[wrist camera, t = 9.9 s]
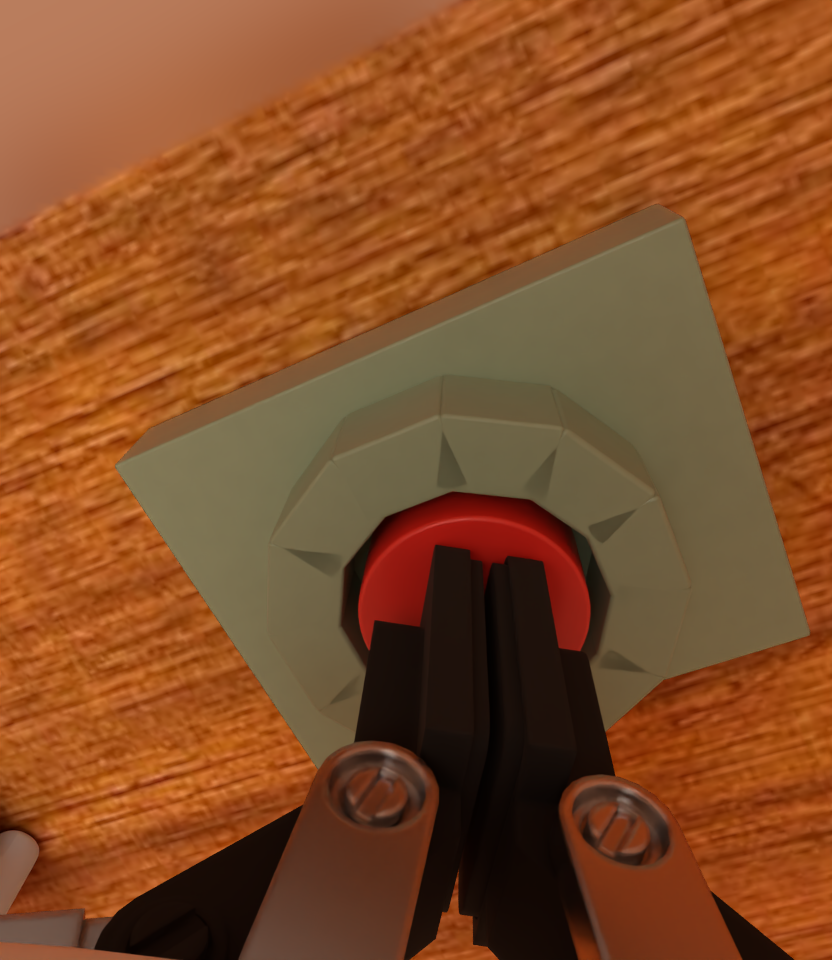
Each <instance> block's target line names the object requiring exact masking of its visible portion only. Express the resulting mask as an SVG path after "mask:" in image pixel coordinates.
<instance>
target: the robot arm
mask: <svg viewBox="0 0 832 960" xmlns="http://www.w3.org/2000/svg"><path fill="white" fill-rule="evenodd" d="M458 869H459V896H458V903H459V913H460V915H467V916H473V945H479V946H486V947H488V948H489V949H490V950H491V951H492V952H493V953H494V954H495V955H496V957H497V958H498V959H499V960H794V959H793V958H792V957H790V956H789V955H788V954H787V953H785V952H784V951H783V950H782V949H781V948H779V947H778V946H777V945H776V944H775V943H773V942H772V941H771V940H770V939H768V938H767V937H766V936H765V935H764V934H762V933H761V932H760V931H759V930H758V929H756V928H755V927H754V926H753V925H751V924H750V923H749V922H748V921H747V920H745V919H744V918H743V917H742V916H741V915H739V914H738V913H737V912H736V911H734V910H733V909H732V908H731V907H730V906H728V905H727V904H726V903H725V902H723V901H722V900H721V899H720V898H719V897H717V896H716V895H715V894H714V893H713V892H711V891H710V890H709V887H708V885H707V883H706V881H705V879H704V877H703V875H702V873H701V870H700V868H699V866H698V864H697V862H696V860H695V858H694V855H693V853H692V851H691V849H690V847H689V845H688V843H687V841H686V838H685V836H684V834H683V832H682V830H681V828H680V826H679V824H678V822H677V821H676V819H675V817H674V816H673V814H672V813H671V811H670V810H669V808H668V807H667V806H666V805H665V804H664V803H662V802H661V801H660V800H659V799H658V798H657V797H656V796H655V795H654V794H652V793H651V792H649V791H648V790H646V789H645V788H643V787H641V786H640V785H638V784H636V783H633V782H631V781H628V780H626V779H623V778H620V777H615V772H614V768H613V764H612V759H611V755H610V751H609V746H608V742H607V737H606V733H605V729H604V724H603V720H602V716H601V711H600V707H599V703H598V698H597V694H596V689H595V685H594V681H593V676H592V672H591V668H590V663H589V660H588V657H587V654H586V653H584V652H582V651H576V650H569V649H562V648H559V646H558V640H557V635H556V629H555V624H554V618H553V613H552V607H551V601H550V596H549V590H548V585H547V579H546V574H545V568H544V564H543V561H539V560H533V559H526V558H520V557H513V556H507V557H506V559H505V561H504V564H498V563H492V565H491V568H490V572H489V576H488V581H487V585H486V590H485V594H484V583H483V563H482V561H479V560H472V559H470V550H468V549H461V548H455V547H448V546H442V545H435V547H434V551H433V556H432V562H431V567H430V573H429V578H428V584H427V589H426V595H425V600H424V606H423V611H422V616H421V622H420V627H418V626H411V625H404V624H398V623H391V622H385V621H378V620H374V626H373V632H372V638H371V644H370V650H369V656H368V662H367V668H366V674H365V680H364V686H363V692H362V698H361V704H360V710H359V716H358V722H357V728H356V734H355V740H354V743H352V744H349V745H346V746H343V747H341V748H339V749H337V750H336V751H335V752H333V753H332V754H331V755H329V756H328V757H327V758H326V759H325V761H324V762H323V764H322V765H321V767H320V768H319V770H318V771H317V774H316V776H315V778H314V781H313V783H312V786H311V788H310V790H309V793H308V795H307V797H306V800H305V802H304V804H303V805H302V806H300V807H298V808H296V809H295V810H293V811H291V812H289V813H287V814H286V815H284V816H282V817H280V818H278V819H277V820H275V821H273V822H271V823H269V824H268V825H266V826H264V827H262V828H260V829H259V830H257V831H255V832H253V833H252V834H250V835H248V836H246V837H244V838H243V839H241V840H239V841H237V842H235V843H234V844H232V845H230V846H228V847H226V848H225V849H223V850H221V851H219V852H217V853H216V854H214V855H212V856H210V857H209V858H207V859H205V860H203V861H201V862H200V863H198V864H196V865H194V866H192V867H191V868H189V869H187V870H185V871H183V872H182V873H180V874H178V875H176V876H174V877H173V878H171V879H169V880H167V881H166V882H164V883H162V884H160V885H158V886H157V887H155V888H153V889H151V890H149V891H148V892H146V893H144V894H142V895H140V896H139V897H137V898H135V899H134V900H133V901H131V902H130V903H129V904H127V905H126V906H125V907H123V908H122V909H120V910H119V911H118V912H117V913H116V914H115V915H114V916H113V917H104V918H91V919H85V908H84V909H71V910H58V911H45V912H32V913H19V914H6V915H0V960H410V959H411V958H412V957H413V956H415V955H416V954H417V953H418V952H420V951H421V950H422V949H423V948H425V947H426V946H427V945H428V944H430V943H431V942H432V941H433V940H435V939H436V935H437V931H438V927H439V923H440V919H441V915H442V912H447V911H448V909H449V905H450V901H451V897H452V893H453V889H454V885H455V881H456V877H457V873H458Z"/></svg>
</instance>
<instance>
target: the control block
mask: <svg viewBox="0 0 832 960" xmlns="http://www.w3.org/2000/svg"><path fill="white" fill-rule="evenodd" d="M115 468H116V469H117V471H118V472H119V474H120V475H121V477H122V478H123V480H124V481H125V483H126V484H127V486H128V487H129V489H130V490H131V492H132V493H133V495H134V496H135V498H136V499H137V501H138V502H139V504H140V505H141V507H142V508H143V510H144V511H145V513H146V514H147V516H148V517H149V519H150V520H151V522H152V523H153V525H154V526H155V528H156V529H157V531H158V532H159V533H160V535H161V536H162V538H163V539H164V541H165V542H166V544H167V545H168V547H169V548H170V550H171V551H172V553H173V554H174V556H175V557H176V559H177V560H178V562H179V563H180V565H181V566H182V568H183V569H184V571H185V572H186V574H187V575H188V577H189V578H190V580H191V581H192V583H193V584H194V586H195V587H196V589H197V590H198V592H199V593H200V595H201V596H202V598H203V599H204V601H205V602H206V604H207V605H208V607H209V608H210V609H211V611H212V612H213V614H214V615H215V617H216V618H217V620H218V621H219V623H220V624H221V626H222V627H223V629H224V630H225V632H226V633H227V635H228V636H229V638H230V639H231V641H232V642H233V644H234V645H235V647H236V648H237V650H238V651H239V653H240V654H241V656H242V657H243V659H244V660H245V662H246V663H247V665H248V666H249V668H250V669H251V671H252V672H253V674H254V675H255V677H256V678H257V680H258V681H259V683H260V684H261V685H262V687H263V688H264V690H265V691H266V693H267V694H268V696H269V697H270V699H271V700H272V702H273V703H274V705H275V706H276V708H277V709H278V711H279V712H280V714H281V715H282V717H283V718H284V720H285V721H286V723H287V724H288V726H289V727H290V729H291V730H292V732H293V733H294V735H295V736H296V738H297V739H298V741H299V742H300V744H301V745H302V747H303V748H304V750H305V751H306V753H307V754H308V756H309V757H310V759H311V760H312V762H313V763H314V764H315V766H316V767H317V769H318V770H319V768H320V767H321V765H322V764H323V762H324V761H325V759H326V758H327V757H328V756H329V755H331V754H332V753H333V752H335V751H336V750H337V749H339V748H341V747H343V746H346V745H349V744H352V743H354V740H355V734H356V728H357V722H358V716H359V710H360V704H361V698H362V692H363V686H364V680H365V674H366V668H367V662H368V656H369V650H368V648H367V646H366V644H365V642H364V639H363V636H362V633H361V630H360V625H359V619H358V601H359V595H360V589H361V584H362V579H363V575H364V570H365V565H366V560H367V555H368V550H369V545H370V541H371V537H372V534H373V532H374V531H375V529H376V528H377V527H378V526H379V524H380V523H381V522H382V521H383V519H384V518H385V517H387V516H389V515H392V514H395V513H397V512H400V511H402V510H405V509H408V508H410V507H413V506H416V505H418V504H421V503H423V502H426V501H429V500H431V499H434V498H436V497H439V496H442V495H444V494H447V493H450V492H452V491H454V492H464V493H473V494H482V495H491V496H501V497H510V498H519V499H529V500H532V501H533V502H535V503H536V504H537V505H539V506H540V507H542V508H543V509H545V510H546V511H548V512H549V513H551V514H552V515H554V516H555V517H557V518H558V519H559V520H561V521H562V522H564V523H565V524H567V525H568V526H570V527H571V528H572V531H573V534H574V537H575V541H576V545H577V549H578V553H579V557H580V560H581V564H582V568H583V572H584V576H585V580H586V584H587V588H588V592H589V598H590V604H591V617H590V624H589V630H588V633H587V636H586V639H585V642H584V644H583V646H582V648H581V650H580V651H582V652H584V653H586V654H587V657H588V660H589V663H590V668H591V672H592V676H593V681H594V685H595V689H596V694H597V698H598V703H599V707H600V711H601V716H602V720H603V724H604V729H605V732H606V731H607V730H608V729H609V728H610V727H612V726H613V725H614V724H615V723H616V722H617V721H618V720H619V719H620V718H622V717H623V716H624V715H625V714H626V713H627V712H628V711H629V710H631V709H632V708H633V707H634V706H635V705H636V704H637V703H638V702H639V701H641V700H642V699H643V698H644V697H645V696H646V695H647V694H648V693H650V692H651V691H652V690H653V689H654V688H655V687H656V686H657V685H658V684H660V683H661V682H662V681H663V680H665V679H668V678H672V677H675V676H678V675H682V674H685V673H688V672H691V671H695V670H698V669H701V668H705V667H708V666H711V665H714V664H718V663H721V662H724V661H728V660H731V659H734V658H737V657H741V656H744V655H747V654H751V653H754V652H757V651H760V650H764V649H767V648H770V647H774V646H777V645H780V644H783V643H787V642H790V641H793V640H797V639H800V638H803V637H806V636H809V635H810V629H809V626H808V623H807V619H806V616H805V613H804V610H803V606H802V603H801V600H800V596H799V593H798V590H797V586H796V583H795V580H794V577H793V573H792V570H791V567H790V563H789V560H788V557H787V553H786V550H785V547H784V544H783V540H782V537H781V534H780V530H779V527H778V524H777V520H776V517H775V514H774V511H773V507H772V504H771V501H770V497H769V494H768V491H767V487H766V484H765V481H764V478H763V474H762V471H761V468H760V464H759V461H758V458H757V454H756V451H755V448H754V445H753V441H752V438H751V435H750V431H749V428H748V425H747V421H746V418H745V415H744V412H743V408H742V405H741V402H740V398H739V395H738V392H737V388H736V385H735V382H734V379H733V375H732V372H731V369H730V365H729V362H728V359H727V356H726V352H725V349H724V346H723V342H722V339H721V336H720V332H719V329H718V326H717V323H716V319H715V316H714V313H713V309H712V306H711V303H710V299H709V296H708V293H707V290H706V286H705V283H704V280H703V276H702V273H701V270H700V266H699V263H698V260H697V257H696V253H695V250H694V247H693V243H692V240H691V237H690V233H689V230H688V227H687V224H686V220H685V219H684V218H683V217H682V216H680V215H678V214H676V213H674V212H673V211H671V210H669V209H667V208H665V207H664V206H662V205H660V204H655V205H653V206H650V207H648V208H646V209H644V210H641V211H639V212H637V213H635V214H632V215H630V216H628V217H626V218H623V219H621V220H619V221H617V222H614V223H612V224H610V225H607V226H605V227H603V228H601V229H598V230H596V231H594V232H592V233H589V234H587V235H585V236H583V237H580V238H578V239H576V240H574V241H571V242H569V243H567V244H565V245H562V246H560V247H558V248H556V249H553V250H551V251H549V252H547V253H544V254H542V255H540V256H538V257H535V258H533V259H531V260H529V261H526V262H524V263H522V264H520V265H517V266H515V267H513V268H511V269H508V270H506V271H504V272H501V273H499V274H497V275H495V276H492V277H490V278H488V279H486V280H483V281H481V282H479V283H477V284H474V285H472V286H470V287H468V288H465V289H463V290H461V291H459V292H456V293H454V294H452V295H450V296H447V297H445V298H443V299H441V300H438V301H436V302H434V303H432V304H429V305H427V306H425V307H423V308H420V309H418V310H416V311H414V312H411V313H409V314H407V315H405V316H402V317H400V318H398V319H395V320H393V321H391V322H389V323H386V324H384V325H382V326H380V327H377V328H375V329H373V330H371V331H368V332H366V333H364V334H362V335H359V336H357V337H355V338H353V339H350V340H348V341H346V342H344V343H341V344H339V345H337V346H335V347H332V348H330V349H328V350H326V351H323V352H321V353H319V354H317V355H314V356H312V357H310V358H308V359H305V360H303V361H301V362H298V363H296V364H294V365H292V366H289V367H287V368H285V369H283V370H280V371H278V372H276V373H274V374H271V375H269V376H267V377H265V378H262V379H260V380H258V381H256V382H253V383H251V384H249V385H247V386H244V387H242V388H240V389H238V390H235V391H233V392H231V393H229V394H226V395H224V396H222V397H220V398H217V399H215V400H213V401H211V402H208V403H206V404H204V405H202V406H199V407H197V408H195V409H192V410H190V411H188V412H186V413H183V414H181V415H179V416H177V417H174V418H172V419H170V420H168V421H165V422H163V423H161V424H159V425H156V426H154V427H152V428H150V429H148V431H147V432H146V433H145V434H144V435H143V436H142V437H141V438H140V439H139V440H138V441H137V442H136V443H135V444H134V445H133V446H132V448H131V449H130V450H129V451H128V452H127V453H126V454H125V455H124V456H123V457H122V458H121V459H120V460H119V461H118V462H117V464H116V465H115Z"/></svg>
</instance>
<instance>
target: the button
mask: <svg viewBox="0 0 832 960" xmlns="http://www.w3.org/2000/svg"><path fill="white" fill-rule="evenodd" d="M435 545H442V546H448V547H455V548H461V549H468V550H470V559H472V560H479V561H482V563H483V583H484V594H485V590H486V585H487V581H488V576H489V572H490V568H491V565H492V563H498V564H504V561H505V559H506V557H507V556H513V557H520V558H526V559H533V560H539V561H543V564H544V568H545V574H546V579H547V585H548V590H549V596H550V601H551V607H552V613H553V618H554V624H555V629H556V635H557V640H558V646H559V648H562V649H569V650H576V651H580V650H581V648H582V646H583V644H584V642H585V639H586V636H587V633H588V630H589V624H590V617H591V604H590V598H589V592H588V588H587V584H586V580H585V576H584V572H583V568H582V564H581V560H580V557H579V553H578V549H577V545H576V541H575V537H574V534H573V531H572V528H571V527H570V526H568V525H567V524H565V523H564V522H562V521H561V520H559V519H558V518H557V517H555V516H554V515H552V514H551V513H549V512H548V511H546V510H545V509H543V508H542V507H540V506H539V505H537V504H536V503H535V502H533V501H532V500H529V499H519V498H510V497H501V496H491V495H482V494H473V493H464V492H454V491H452V492H450V493H447V494H444V495H442V496H439V497H436V498H434V499H431V500H429V501H426V502H423V503H421V504H418V505H416V506H413V507H410V508H408V509H405V510H402V511H400V512H397V513H395V514H392V515H389V516H387V517H385V518H384V519H383V521H382V522H381V523H380V524H379V526H378V527H377V528H376V529H375V531H374V532H373V534H372V537H371V541H370V545H369V550H368V555H367V560H366V565H365V570H364V575H363V579H362V584H361V589H360V595H359V601H358V619H359V625H360V630H361V633H362V636H363V639H364V642H365V644H366V646H367V648H368V650H370V644H371V638H372V632H373V626H374V620H378V621H385V622H391V623H398V624H404V625H411V626H418V627H420V622H421V616H422V611H423V606H424V600H425V595H426V589H427V584H428V578H429V573H430V567H431V562H432V556H433V551H434V547H435Z"/></svg>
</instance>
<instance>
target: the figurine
mask: <svg viewBox="0 0 832 960" xmlns="http://www.w3.org/2000/svg"><path fill="white" fill-rule="evenodd" d="M38 855H39V847H38V844H37V843H36V841H35V840H34V839H33V838H32V837H31V836H30V835H28V834H26V833H24V832H21V831H17V830H11V831H6V832H3V833H1V834H0V915H6V914H7V912H8V910H9V909H10V907H11V905H12V903H13V901H14V900H15V898H16V896H17V894H18V892H19V891H20V889H21V887H22V885H23V883H24V882H25V880H26V878H27V876H28V875H29V873H30V871H31V869H32V867H33V866H34V864H35V862H36V860H37V858H38Z"/></svg>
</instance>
